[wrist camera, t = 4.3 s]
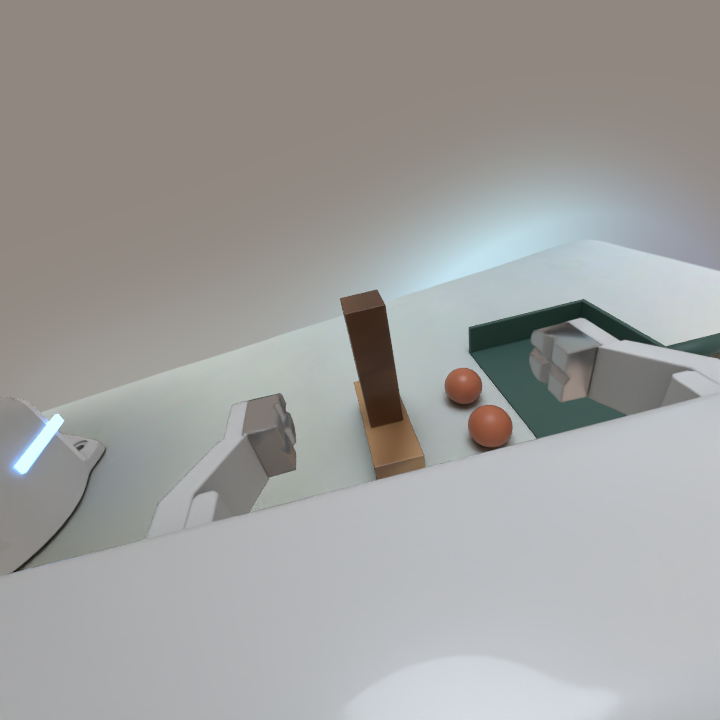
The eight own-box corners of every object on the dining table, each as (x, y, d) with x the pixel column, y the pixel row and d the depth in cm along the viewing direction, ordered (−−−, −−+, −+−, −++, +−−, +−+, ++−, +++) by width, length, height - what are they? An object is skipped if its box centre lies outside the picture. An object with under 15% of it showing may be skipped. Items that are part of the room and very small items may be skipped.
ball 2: (463, 449, 28) (462, 419, 26) (475, 421, 30) (474, 392, 28) (505, 461, 26) (508, 431, 25) (515, 431, 28) (518, 401, 27)
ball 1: (440, 406, 32) (438, 379, 31) (452, 385, 34) (450, 358, 33) (476, 415, 31) (475, 386, 29) (486, 392, 33) (486, 364, 31)
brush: (381, 495, 26) (344, 346, 19) (360, 407, 34) (328, 280, 27) (427, 483, 26) (408, 330, 19) (395, 398, 34) (373, 270, 27)
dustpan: (589, 504, 23) (598, 472, 21) (469, 352, 38) (468, 327, 37) (899, 423, 23) (933, 386, 22) (656, 306, 39) (664, 279, 37)
